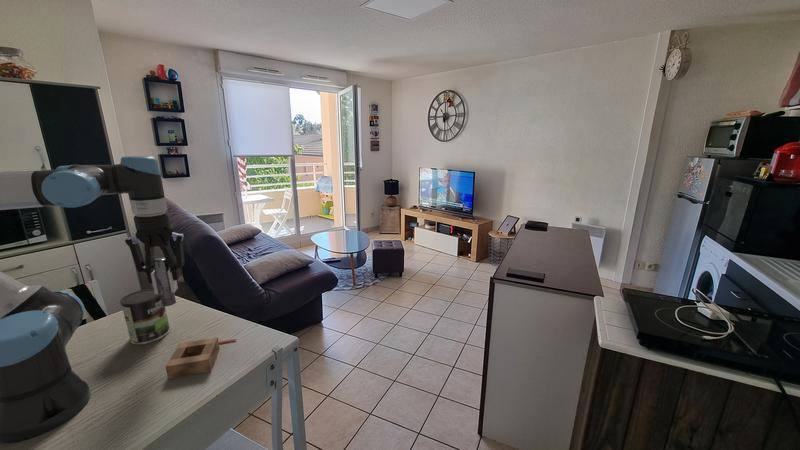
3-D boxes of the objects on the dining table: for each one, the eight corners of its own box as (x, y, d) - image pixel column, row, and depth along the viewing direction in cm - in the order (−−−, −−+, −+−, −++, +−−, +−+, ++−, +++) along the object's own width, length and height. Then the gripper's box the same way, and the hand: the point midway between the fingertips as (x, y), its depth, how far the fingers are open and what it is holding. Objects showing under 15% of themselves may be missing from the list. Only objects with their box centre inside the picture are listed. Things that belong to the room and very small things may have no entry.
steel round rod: (160, 307, 89) (150, 262, 86) (164, 301, 92) (155, 258, 89) (173, 305, 90) (164, 261, 87) (177, 299, 93) (169, 256, 90)
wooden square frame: (168, 379, 82) (165, 366, 81) (181, 354, 91) (179, 343, 90) (210, 371, 85) (208, 359, 83) (219, 348, 94) (217, 337, 93)
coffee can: (177, 325, 105) (170, 288, 101) (153, 345, 95) (144, 304, 91) (148, 325, 105) (139, 287, 101) (121, 344, 95) (110, 303, 91)
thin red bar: (184, 349, 93) (184, 348, 93) (185, 347, 94) (185, 346, 94) (235, 341, 97) (235, 340, 97) (236, 339, 98) (236, 338, 98)
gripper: (105, 218, 78) (126, 301, 84) (181, 215, 83) (195, 293, 89) (121, 212, 85) (138, 289, 91) (189, 209, 90) (202, 282, 96)
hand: (166, 291), depth 90 cm, fingers closed on steel round rod, 3 cm apart
